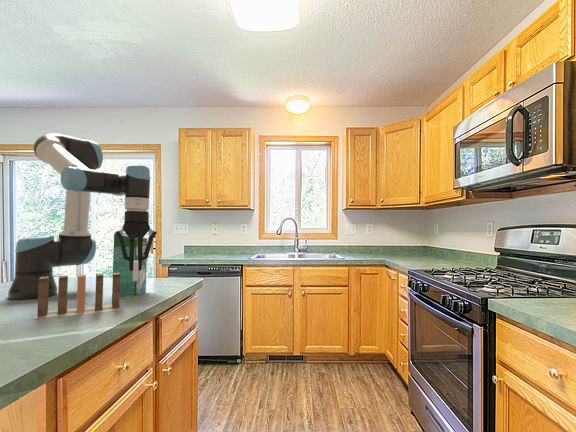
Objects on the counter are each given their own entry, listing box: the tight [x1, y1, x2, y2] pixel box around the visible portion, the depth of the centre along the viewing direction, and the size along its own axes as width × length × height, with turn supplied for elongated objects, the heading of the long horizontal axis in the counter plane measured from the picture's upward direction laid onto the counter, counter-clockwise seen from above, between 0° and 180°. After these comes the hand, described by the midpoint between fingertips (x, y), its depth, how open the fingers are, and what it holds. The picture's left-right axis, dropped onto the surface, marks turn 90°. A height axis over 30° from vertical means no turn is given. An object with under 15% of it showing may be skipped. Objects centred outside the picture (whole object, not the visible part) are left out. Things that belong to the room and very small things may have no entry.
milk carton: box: [112, 232, 148, 297], centre depth 128 cm, size 9×9×25 cm
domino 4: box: [111, 272, 121, 309], centre depth 106 cm, size 4×2×11 cm, turn 31°
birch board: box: [33, 304, 122, 320], centre depth 101 cm, size 9×22×1 cm, turn 121°
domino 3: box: [94, 273, 104, 311], centre depth 103 cm, size 4×2×11 cm, turn 31°
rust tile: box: [76, 273, 87, 313], centre depth 101 cm, size 4×2×11 cm, turn 31°
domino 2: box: [57, 275, 69, 315], centre depth 98 cm, size 4×2×11 cm, turn 31°
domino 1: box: [36, 277, 49, 317], centre depth 96 cm, size 4×2×11 cm, turn 31°
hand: (135, 280), depth 109 cm, fingers closed
